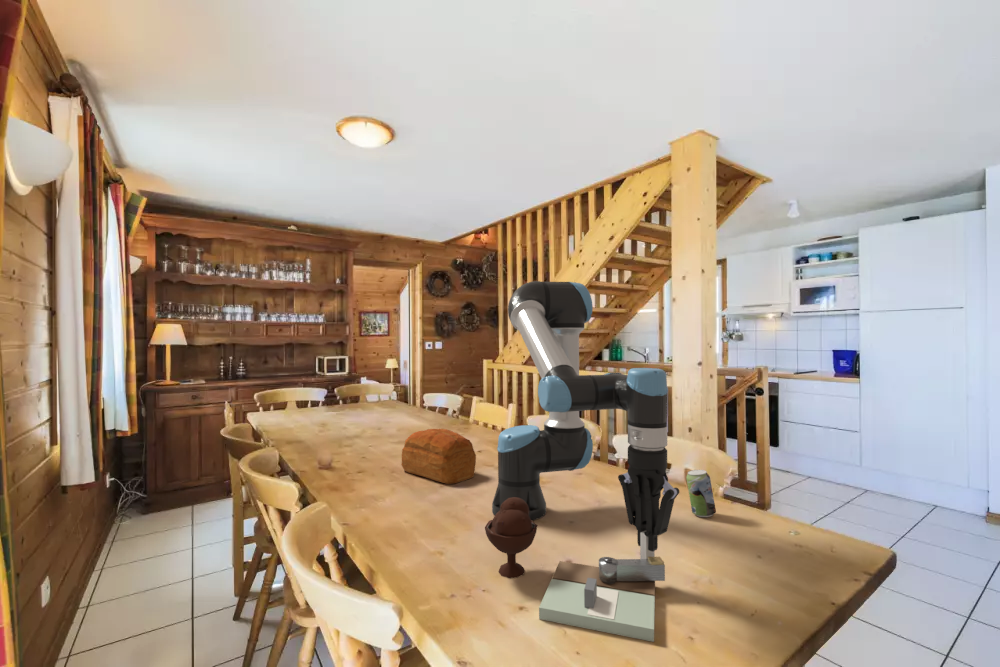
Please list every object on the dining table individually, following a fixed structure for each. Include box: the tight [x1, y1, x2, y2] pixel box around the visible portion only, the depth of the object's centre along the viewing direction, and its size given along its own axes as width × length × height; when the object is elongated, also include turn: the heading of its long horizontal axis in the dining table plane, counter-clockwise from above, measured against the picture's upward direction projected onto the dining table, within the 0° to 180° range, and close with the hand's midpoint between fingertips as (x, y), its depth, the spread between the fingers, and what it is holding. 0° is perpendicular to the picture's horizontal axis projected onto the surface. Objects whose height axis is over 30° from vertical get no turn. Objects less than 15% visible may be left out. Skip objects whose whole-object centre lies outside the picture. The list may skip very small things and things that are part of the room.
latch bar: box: [598, 556, 666, 583], centre depth 89 cm, size 12×4×4 cm, turn 90°
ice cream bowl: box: [484, 497, 538, 579], centre depth 97 cm, size 11×11×15 cm
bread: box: [401, 428, 477, 485], centre depth 166 cm, size 16×27×16 cm, turn 49°
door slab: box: [538, 578, 656, 643], centre depth 82 cm, size 19×10×5 cm, turn 71°
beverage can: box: [685, 469, 717, 518], centre depth 126 cm, size 6×7×12 cm
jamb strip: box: [551, 560, 656, 597], centre depth 91 cm, size 19×7×2 cm, turn 71°
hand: (647, 564), depth 92 cm, fingers closed
